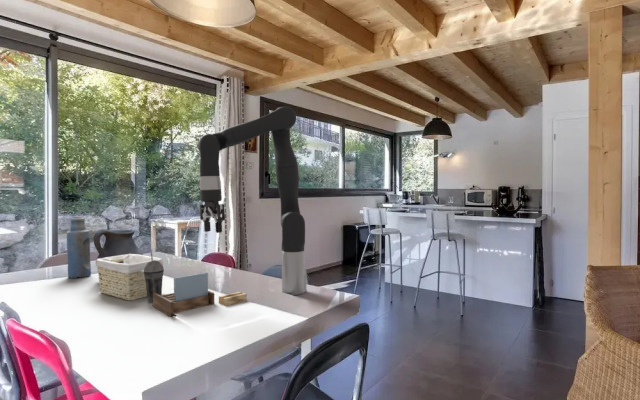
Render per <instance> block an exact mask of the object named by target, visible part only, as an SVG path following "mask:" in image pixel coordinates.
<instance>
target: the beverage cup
mask: <svg viewBox="0 0 640 400" xmlns="http://www.w3.org/2000/svg"><path fill="white" fill-rule="evenodd" d="M150 257H151V261H150V262H148V263H147V264H146V265H145V267H144V272H143V273H144V276H145V281H146V290H147V303H149V304H152V303H153V293H157V294H159V295H163V294H162V291H163V279H164V278H163V276H164V273H165V272H164V271H165V269H164V264H163V265H162V264H161V263H160V262H159V261H156V260H154V261H153V257H154V256H153V249H150Z"/></svg>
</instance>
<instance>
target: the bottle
mask: <svg viewBox="0 0 640 400" xmlns="http://www.w3.org/2000/svg"><path fill="white" fill-rule="evenodd" d="M85 222H86V218H84V217H83V216H73V217H71V219H70V229H69V230H68V231H66V247H67V248H66V249H67V278H69V277H72V278H71V279H78V278H77V277H83V278H87V277H90V276H91V275H92V267H91V244H90V243H91V242H90V241H91V238H90V237H91V236H90V233H91V232H90V229H86V224H85ZM86 276H87V277H86Z"/></svg>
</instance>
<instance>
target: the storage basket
mask: <svg viewBox="0 0 640 400" xmlns="http://www.w3.org/2000/svg"><path fill="white" fill-rule="evenodd" d="M96 259H97V258H96ZM96 259H95V266H96V269H97V272H98V275H97V276H98V281H99V282H98V283H99V284H98V285H99V289H100V293H102V294H104V295H109V296H112V297H115V298H118V299H122V300H127V301H136V300H138V299H141V298H146V297H147V290H146V281H145V276H144V273H143V272H144V267H145V265H146V264H147V263H148V262H150V261H151V255H150V256H149V255H144V254H143V255H139V254H126V255H119V256H112V257H105V258H100V259H97V260H96ZM154 260H156V261H159V262H160V263H161V264H162V265H163V266H164V261H163V259H162V258H160V257H155V256H153V261H154ZM121 261H123V263H116V262H121Z"/></svg>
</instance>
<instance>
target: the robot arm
mask: <svg viewBox="0 0 640 400" xmlns="http://www.w3.org/2000/svg"><path fill="white" fill-rule="evenodd" d="M296 122H297V114H296V112H295V110H293V108H291V107H289V106H279V107H277V108H276V109H275V110H274V111H272V112H270V113H267V114H265V115H263V116H261V117H259V118H256V119H252V120H249V121H245V122H242V123H239V124H236V125H233V126H230V127H227V128H225V129H222V130H221V131H219V132H218V131H217V132H215V133H213V134H212V133H206V134H204V135H202V136H201V137H200V138H199V140H198V142H197V149H198V151H199V153H200V154H199V155H200V163H199V176H200V177H199V178H200V179H199V187H200V188H199V190H200V191H199V192H200V202H202V203H204V204H200V205H199V212H200V213H199V214H200V215H199V216H200V217H199V218H200V220H201V221H202V222H203V229H204V232H205V233H206V232H211V218H212V219H213V220H214V222H215V223H214V224H215V233H216V234H219V233H222V232H223V222H224V221H226V212H225V204H224V203H220V202H221V201H222V200H223V199H222V182H221V181H222V180H221V176H220V174H221V173H220V163H219V162H220V151H222V150H223V151H224V150H225V149H227V148H230V147H231V148H232V147H234V146H235V147H236V146H237V145H241V144H243V143H247V142H248V141H251V140H252V139H254V138H255V139H256V138H257V137H259V136H261V135H264V134H268V133H269V132H271V137H272V142H273V153H274V155H273V156H274V166H275V178H276V185H277V188H278V189H277V190H278V194H279V199H280V226H281V235H282V236H281V237H282V238H281V290H282V291H281V292H282V293H285V294H287V295H290V296H299V295H303V294H304V293H306V292H307V285H308V284H307V268H306V267H305V245H306V221H305V217H304V216H303V215H302V214H301V211H300V205H299V186H300V174H299V164H298V160H297V158H296V155H295V152H294V149H293V147H292V144H291V131H290V130H291V129H292V127H293V126H294V125H295V124H296Z"/></svg>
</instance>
